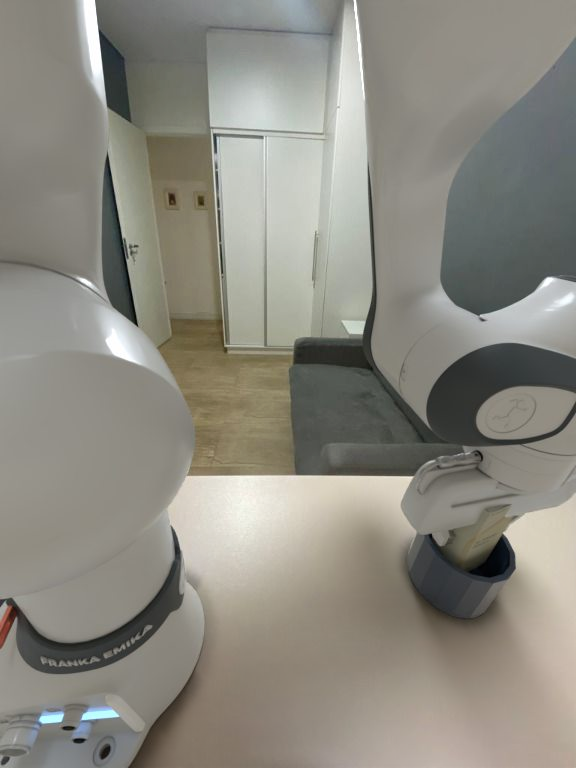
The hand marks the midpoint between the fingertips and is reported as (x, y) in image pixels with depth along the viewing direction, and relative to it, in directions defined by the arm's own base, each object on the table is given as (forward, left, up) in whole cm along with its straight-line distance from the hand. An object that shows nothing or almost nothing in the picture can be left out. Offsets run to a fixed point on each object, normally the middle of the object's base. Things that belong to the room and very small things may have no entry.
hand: (468, 533), depth 38 cm
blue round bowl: (0, 0, -9) cm, 9 cm away
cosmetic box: (0, 0, -5) cm, 5 cm away
